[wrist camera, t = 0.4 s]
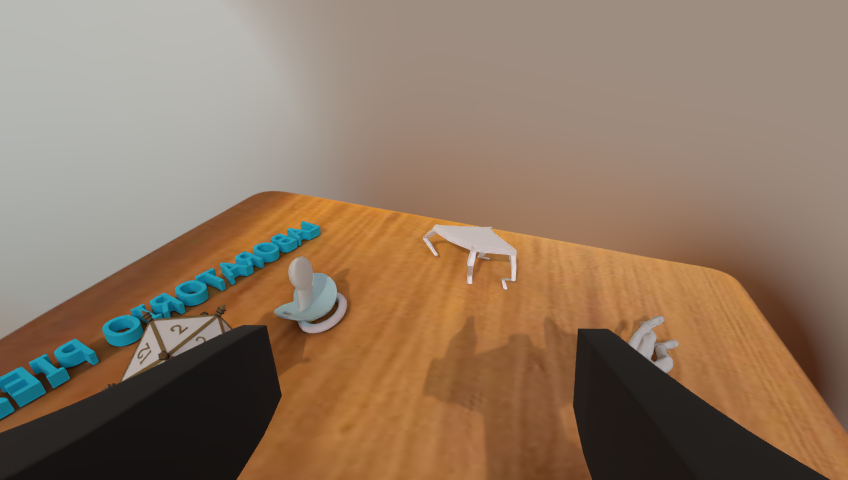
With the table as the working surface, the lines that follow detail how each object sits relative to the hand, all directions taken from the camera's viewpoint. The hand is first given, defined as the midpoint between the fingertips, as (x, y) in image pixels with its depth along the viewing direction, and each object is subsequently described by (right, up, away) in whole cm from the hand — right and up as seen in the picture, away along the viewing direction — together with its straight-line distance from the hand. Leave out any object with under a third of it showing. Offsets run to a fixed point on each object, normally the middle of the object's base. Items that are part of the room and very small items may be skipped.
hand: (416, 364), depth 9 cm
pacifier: (-11, -5, +31) cm, 33 cm away
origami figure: (+5, -1, +40) cm, 41 cm away
